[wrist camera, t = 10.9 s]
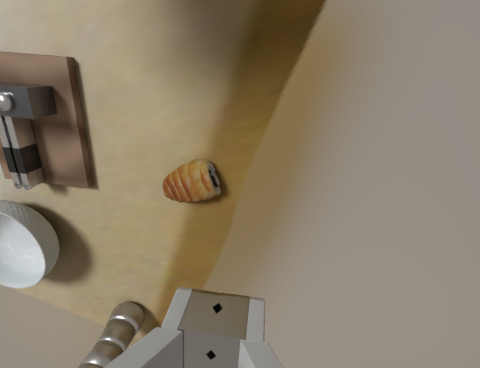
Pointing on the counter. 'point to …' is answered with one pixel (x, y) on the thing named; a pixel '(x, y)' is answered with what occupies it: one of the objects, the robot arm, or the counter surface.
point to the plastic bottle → (115, 335)
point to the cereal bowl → (25, 245)
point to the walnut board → (53, 117)
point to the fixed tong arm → (9, 153)
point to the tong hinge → (26, 100)
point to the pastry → (192, 182)
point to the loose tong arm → (25, 151)
